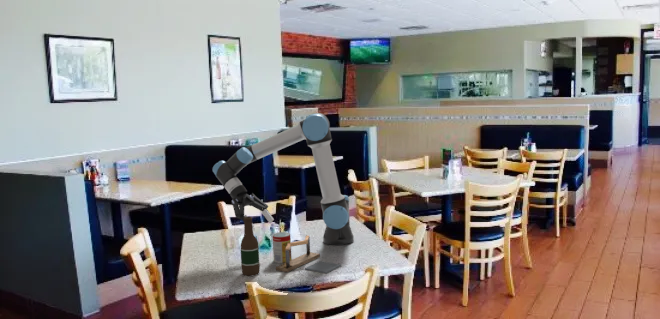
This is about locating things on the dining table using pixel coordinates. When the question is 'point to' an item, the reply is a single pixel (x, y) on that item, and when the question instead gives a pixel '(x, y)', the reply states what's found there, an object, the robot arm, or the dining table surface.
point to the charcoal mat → (323, 267)
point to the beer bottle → (249, 250)
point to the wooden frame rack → (299, 260)
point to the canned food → (281, 246)
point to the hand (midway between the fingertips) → (262, 224)
